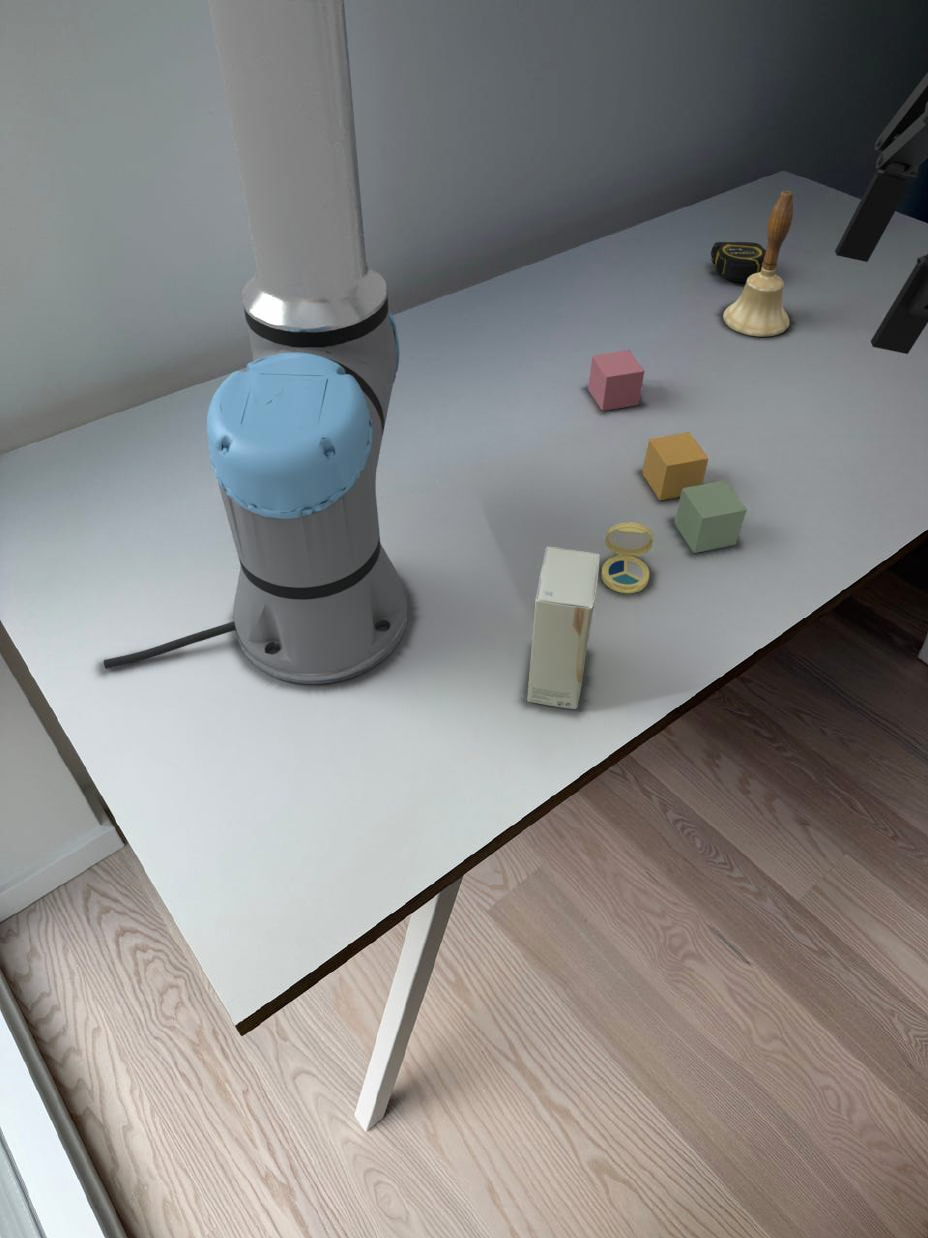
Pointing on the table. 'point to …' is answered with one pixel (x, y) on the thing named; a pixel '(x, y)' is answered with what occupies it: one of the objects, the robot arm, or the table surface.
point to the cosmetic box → (562, 626)
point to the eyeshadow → (627, 557)
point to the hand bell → (765, 282)
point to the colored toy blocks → (672, 461)
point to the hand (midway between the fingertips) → (868, 299)
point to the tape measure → (737, 259)
